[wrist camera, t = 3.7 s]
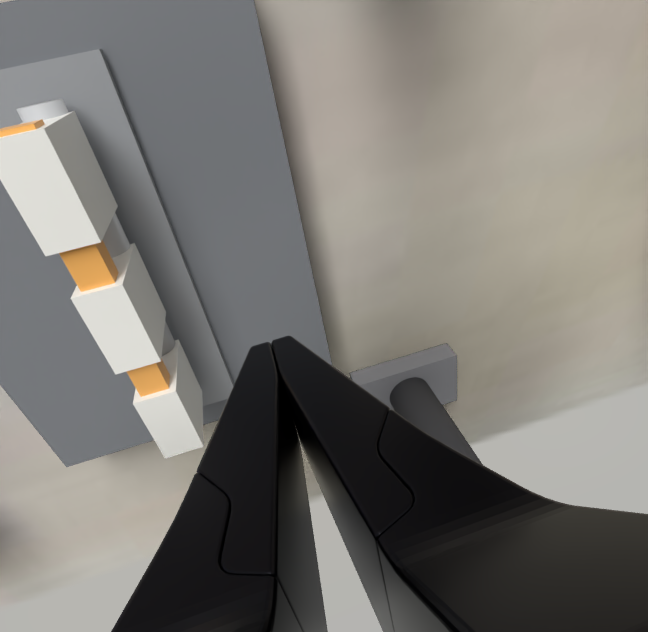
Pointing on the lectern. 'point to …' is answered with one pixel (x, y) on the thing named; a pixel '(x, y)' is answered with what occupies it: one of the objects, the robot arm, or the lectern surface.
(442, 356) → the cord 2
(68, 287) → the breaker panel
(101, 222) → the breaker paddles
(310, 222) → the lectern surface
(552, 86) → the lectern surface
